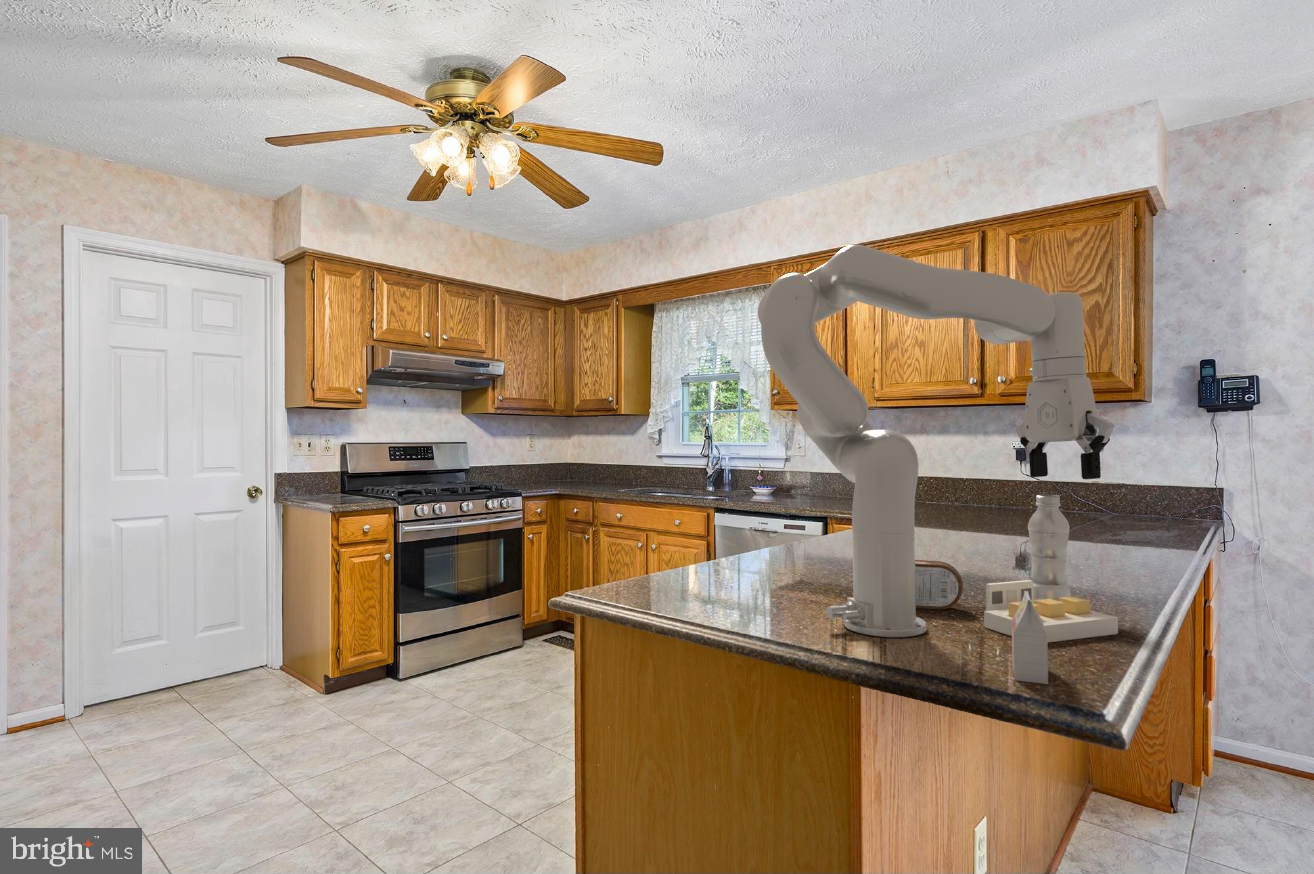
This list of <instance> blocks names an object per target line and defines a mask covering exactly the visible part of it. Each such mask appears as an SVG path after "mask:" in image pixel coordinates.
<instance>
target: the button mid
mask: <svg viewBox="0 0 1314 874" xmlns="http://www.w3.org/2000/svg"><path fill="white" fill-rule="evenodd" d="M1034 604H1036V605H1039V615H1041V616H1045V617H1048V618H1055V617H1064V616H1065V603H1064V602H1060V601H1056V600H1052V599H1042V600H1034Z"/></svg>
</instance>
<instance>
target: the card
mask: <svg viewBox="0 0 1314 874" xmlns="http://www.w3.org/2000/svg"><path fill="white" fill-rule="evenodd" d="M1024 591H1026V592H1027V591H1028V593H1029V597H1030V599H1031V601H1032V604H1033V581H1031V579H1026V580H1025V579H1024V580H1015V581H1004V582H1003V581H1002V582H1001V581H1000V582H989V583H985V611H993V610H1002V609H1008V603H1011V602H1021V601H1022V598H1023V596H1024Z"/></svg>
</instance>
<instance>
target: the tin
mask: <svg viewBox="0 0 1314 874" xmlns="http://www.w3.org/2000/svg"><path fill="white" fill-rule="evenodd" d="M963 584H964V583H963V579H962V576H961V574H960V572H959V571H958V570H957V569H956V568H955V566H953V565H951V564H949V563H947V562H945V561H941V560H928V559H927V560H924V559H915V585H916V609H927V610H939V611H940V610H946V609H947V610H948V609H950V608H952V607H954V606H955V605H956V604H957V603H958V602H959V601H960V599H961V598H962V594H963V590H964V585H963Z"/></svg>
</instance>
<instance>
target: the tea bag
mask: <svg viewBox="0 0 1314 874" xmlns="http://www.w3.org/2000/svg"><path fill="white" fill-rule="evenodd" d="M1048 643H1049V642H1047V633H1046V630H1045V627H1044V624H1043V622H1042V620H1041V618H1040V616H1039V615H1038V613H1037V611H1036V609H1035V607H1034V606H1033V604H1032V601H1031V599H1030V597H1029V593H1028V591H1027V592H1026V591H1024V596H1023V598H1022V601H1021V603H1020V605H1019V607H1018V609H1017V611H1016V613H1015V615H1014V616H1013V618H1012V636H1011V662H1012V663H1011V665H1012V672H1013V679H1014V681H1019V682H1027V683H1036V684H1045V685H1048V684H1049V660H1048V659H1049V656H1048V654H1049V652H1048V651H1049V649H1048V647H1049V646H1048Z"/></svg>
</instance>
